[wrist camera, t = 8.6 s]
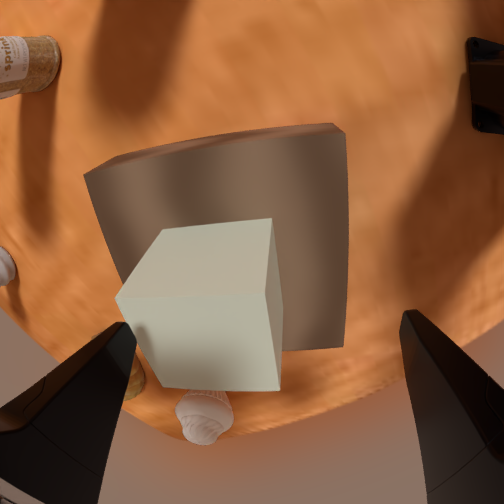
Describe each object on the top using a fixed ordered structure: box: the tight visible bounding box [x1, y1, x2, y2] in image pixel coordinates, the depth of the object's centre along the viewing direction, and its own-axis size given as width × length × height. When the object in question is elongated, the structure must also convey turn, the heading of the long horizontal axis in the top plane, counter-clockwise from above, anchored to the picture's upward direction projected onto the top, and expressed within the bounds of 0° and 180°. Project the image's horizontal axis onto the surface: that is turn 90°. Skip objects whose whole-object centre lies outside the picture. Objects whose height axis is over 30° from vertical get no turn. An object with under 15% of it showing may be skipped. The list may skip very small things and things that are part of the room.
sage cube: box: [115, 218, 283, 391], centre depth 15 cm, size 6×6×6 cm
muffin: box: [175, 389, 234, 445], centre depth 28 cm, size 6×6×7 cm
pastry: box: [92, 332, 144, 401], centre depth 29 cm, size 9×7×4 cm
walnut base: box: [84, 123, 349, 351], centre depth 19 cm, size 14×14×4 cm
